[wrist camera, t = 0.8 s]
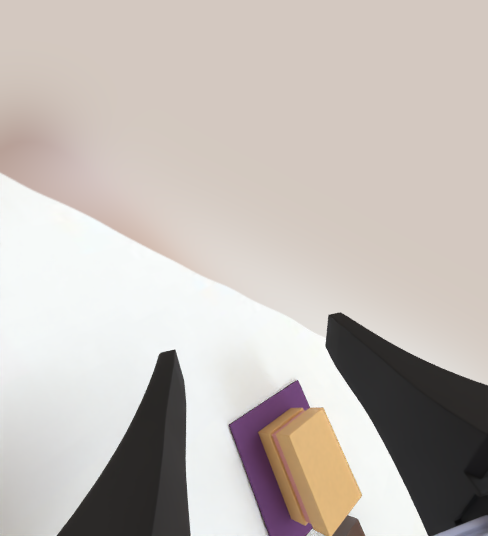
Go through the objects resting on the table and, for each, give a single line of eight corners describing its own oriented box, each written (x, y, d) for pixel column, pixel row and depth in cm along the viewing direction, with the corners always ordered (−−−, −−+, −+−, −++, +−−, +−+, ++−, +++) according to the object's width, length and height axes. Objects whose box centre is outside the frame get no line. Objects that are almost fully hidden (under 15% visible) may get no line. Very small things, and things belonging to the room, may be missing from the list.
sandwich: (323, 484, 29) (362, 495, 25) (291, 519, 26) (330, 538, 22) (291, 407, 30) (323, 407, 27) (257, 432, 27) (288, 435, 24)
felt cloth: (343, 488, 30) (345, 488, 30) (279, 564, 24) (281, 565, 24) (296, 380, 33) (298, 380, 32) (228, 424, 27) (230, 425, 26)
